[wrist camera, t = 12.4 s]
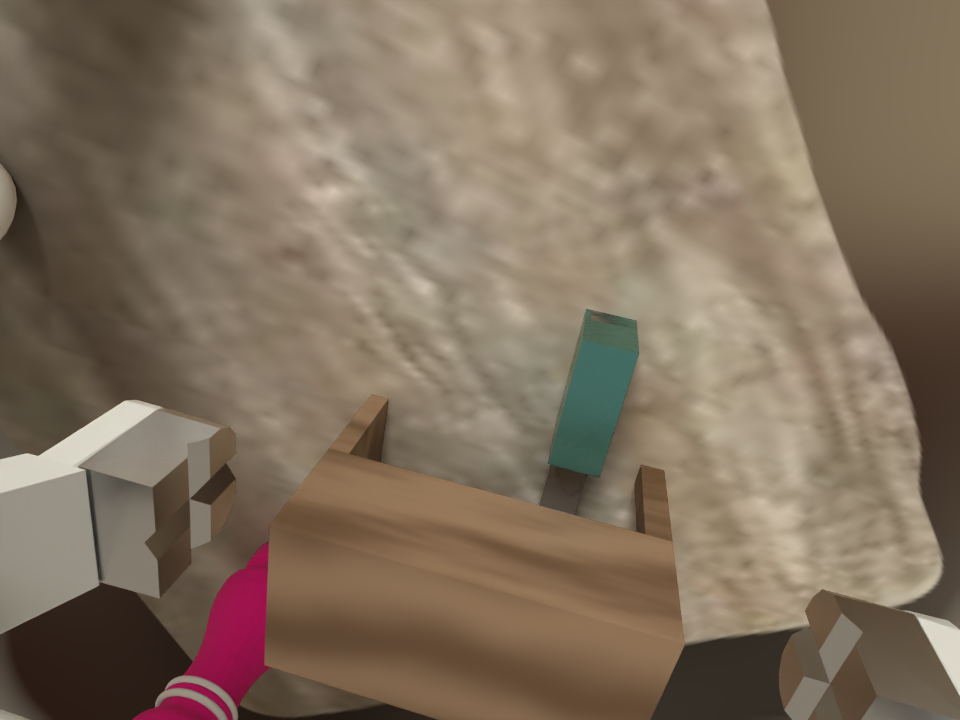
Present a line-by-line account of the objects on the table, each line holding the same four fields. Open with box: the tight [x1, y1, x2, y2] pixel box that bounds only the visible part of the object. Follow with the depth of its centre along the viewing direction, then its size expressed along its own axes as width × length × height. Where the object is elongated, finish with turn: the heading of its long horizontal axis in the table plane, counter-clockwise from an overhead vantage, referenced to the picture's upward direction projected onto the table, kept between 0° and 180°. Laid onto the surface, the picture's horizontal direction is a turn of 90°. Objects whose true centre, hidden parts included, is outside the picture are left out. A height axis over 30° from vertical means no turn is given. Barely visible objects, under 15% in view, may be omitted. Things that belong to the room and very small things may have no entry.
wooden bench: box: [264, 395, 685, 720], centre depth 38 cm, size 10×20×14 cm, turn 79°
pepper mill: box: [132, 542, 271, 720], centre depth 42 cm, size 7×7×20 cm
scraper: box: [538, 309, 639, 515], centre depth 40 cm, size 20×6×5 cm, turn 169°
